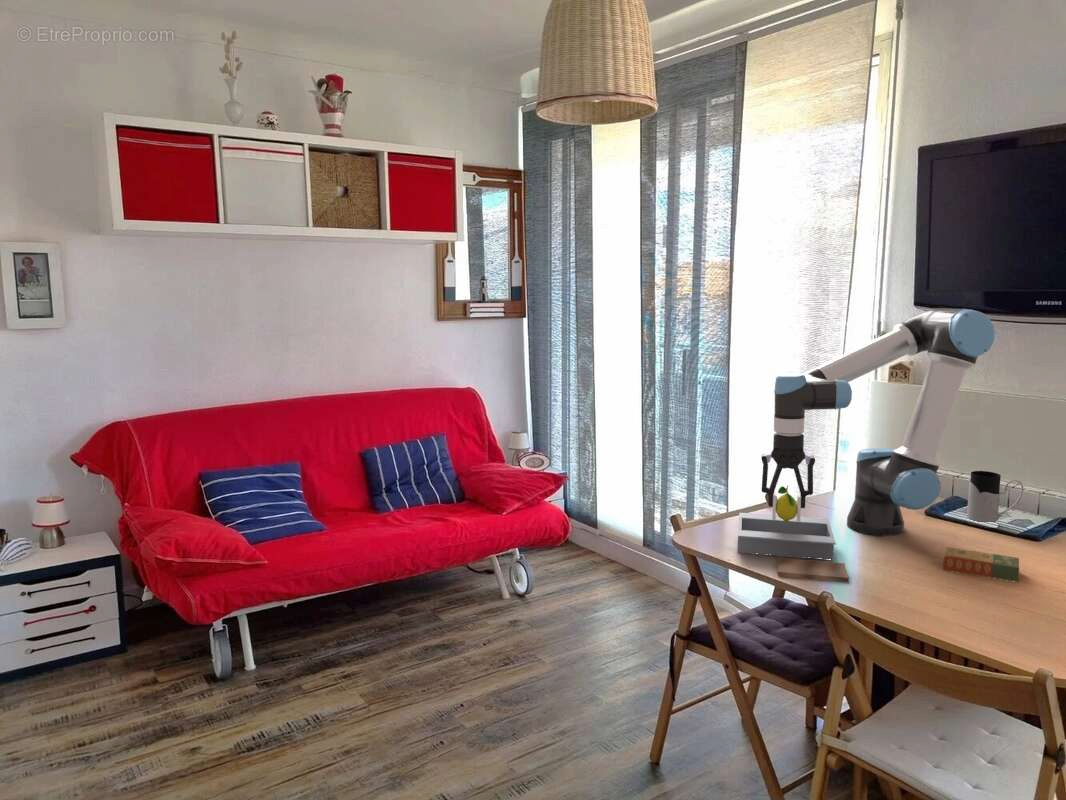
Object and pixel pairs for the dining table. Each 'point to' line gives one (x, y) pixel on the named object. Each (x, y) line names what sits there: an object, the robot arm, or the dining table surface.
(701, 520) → the dining table surface
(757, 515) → the gray open box
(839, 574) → the walnut board
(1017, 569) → the carton
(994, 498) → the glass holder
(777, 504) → the lemon
